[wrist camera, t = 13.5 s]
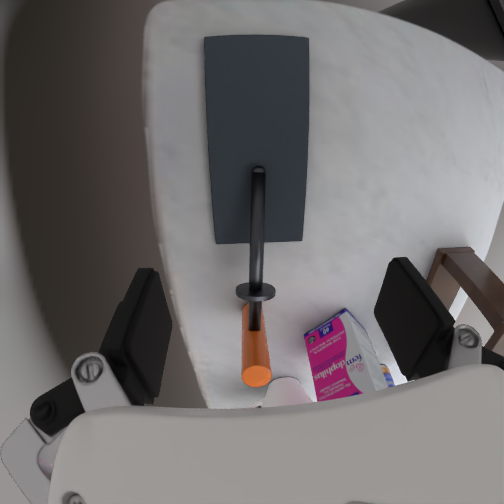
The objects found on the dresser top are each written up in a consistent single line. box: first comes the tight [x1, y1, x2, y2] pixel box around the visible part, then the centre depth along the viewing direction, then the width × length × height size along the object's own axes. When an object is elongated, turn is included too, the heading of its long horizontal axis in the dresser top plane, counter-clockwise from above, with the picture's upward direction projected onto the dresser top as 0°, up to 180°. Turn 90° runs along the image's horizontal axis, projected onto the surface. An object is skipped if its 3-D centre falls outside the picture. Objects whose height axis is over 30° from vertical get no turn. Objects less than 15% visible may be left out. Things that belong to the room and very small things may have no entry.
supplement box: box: [304, 309, 389, 402], centre depth 24 cm, size 6×6×12 cm
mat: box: [204, 35, 309, 244], centre depth 18 cm, size 16×7×1 cm, turn 1°
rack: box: [415, 247, 504, 380], centre depth 23 cm, size 16×6×12 cm, turn 1°
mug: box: [248, 377, 313, 408], centre depth 30 cm, size 12×8×11 cm
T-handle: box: [236, 165, 276, 387], centre depth 20 cm, size 10×3×14 cm
